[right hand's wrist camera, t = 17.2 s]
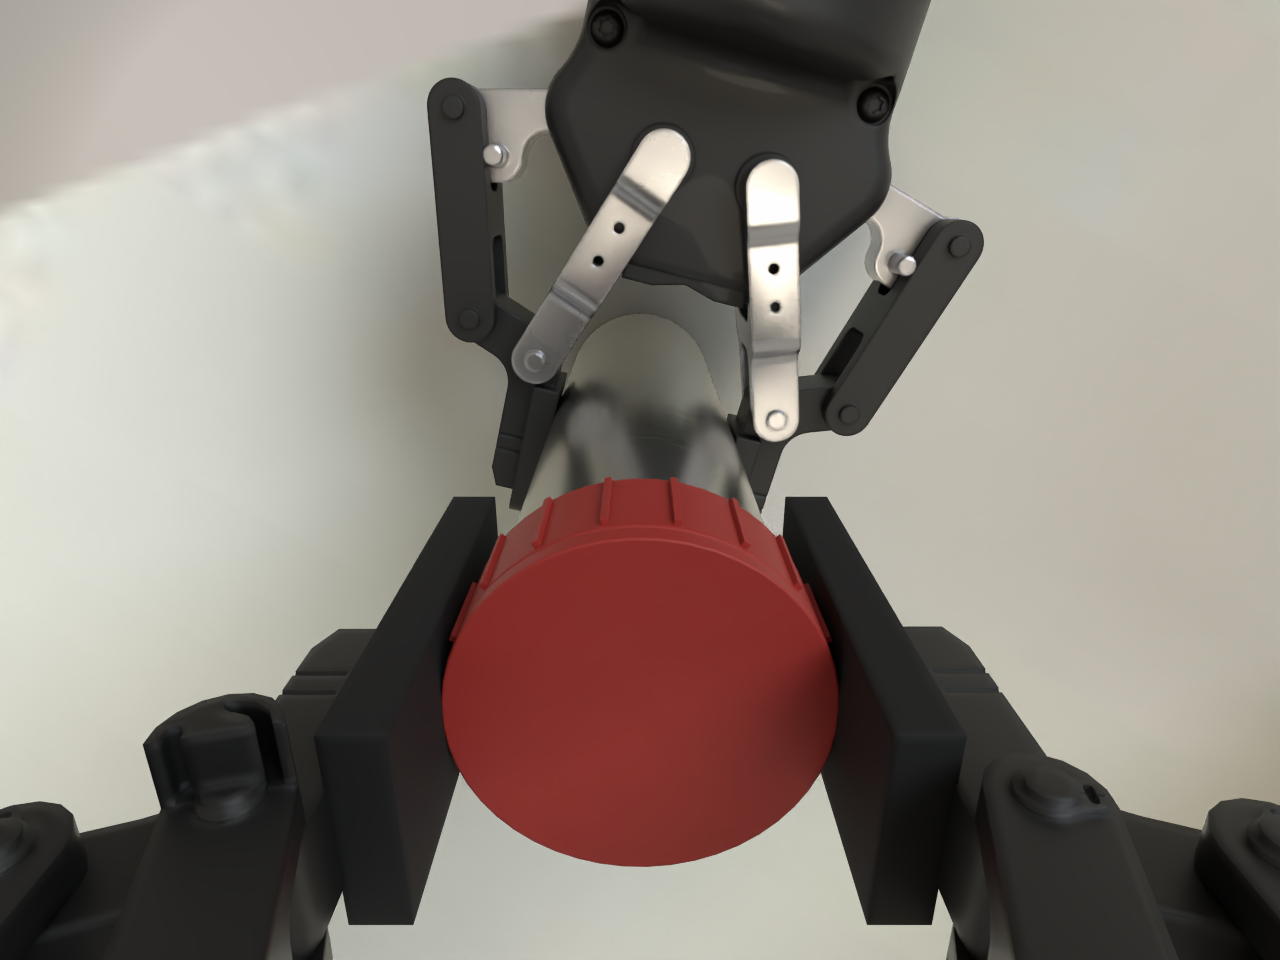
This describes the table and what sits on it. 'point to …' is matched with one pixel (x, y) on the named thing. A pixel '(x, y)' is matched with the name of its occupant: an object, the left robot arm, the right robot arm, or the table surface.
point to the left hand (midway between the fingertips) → (619, 520)
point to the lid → (640, 676)
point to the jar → (640, 417)
